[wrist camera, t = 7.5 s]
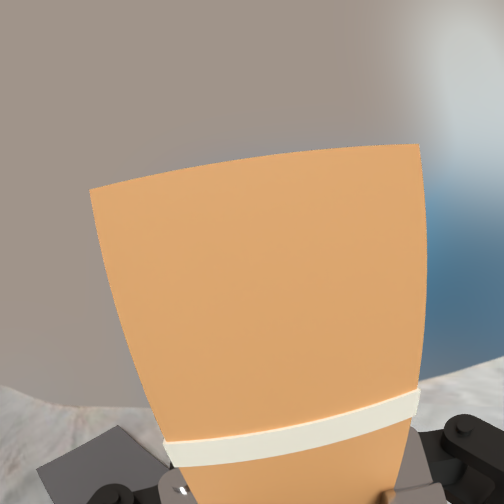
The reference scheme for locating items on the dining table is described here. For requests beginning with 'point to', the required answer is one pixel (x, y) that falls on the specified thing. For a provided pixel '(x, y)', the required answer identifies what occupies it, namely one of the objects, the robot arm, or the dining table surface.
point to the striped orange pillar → (276, 317)
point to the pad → (100, 468)
